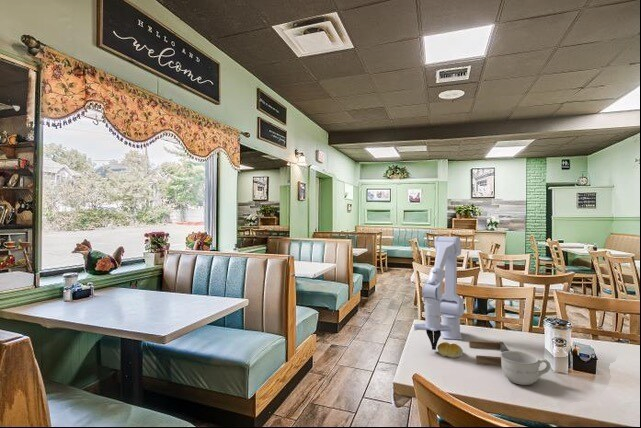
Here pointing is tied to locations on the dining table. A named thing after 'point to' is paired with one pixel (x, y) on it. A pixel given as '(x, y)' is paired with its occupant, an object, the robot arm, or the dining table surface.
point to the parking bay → (488, 345)
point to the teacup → (522, 367)
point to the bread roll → (449, 350)
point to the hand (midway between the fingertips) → (433, 348)
